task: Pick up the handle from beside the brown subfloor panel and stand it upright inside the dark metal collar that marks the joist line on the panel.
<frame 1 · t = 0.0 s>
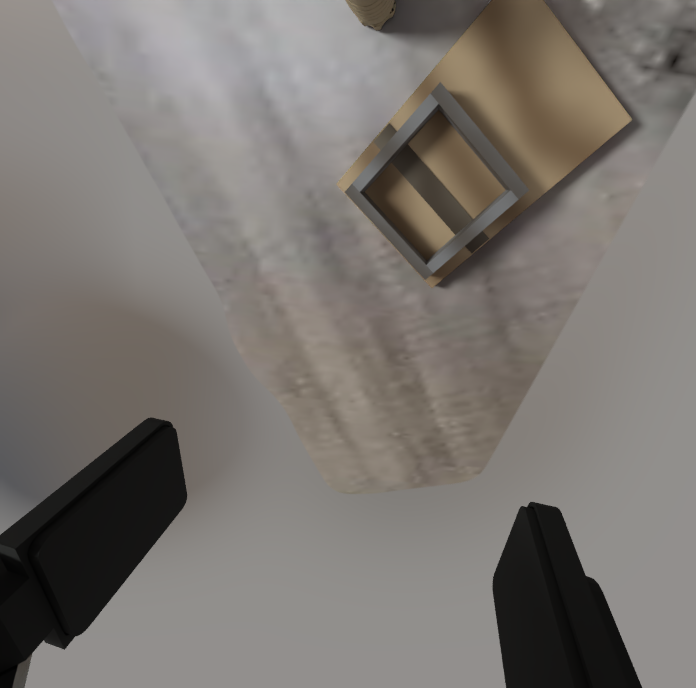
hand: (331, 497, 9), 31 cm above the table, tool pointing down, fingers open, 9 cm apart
handle: (377, 8, 30), on the table
subfloor panel: (466, 156, 32), on the table
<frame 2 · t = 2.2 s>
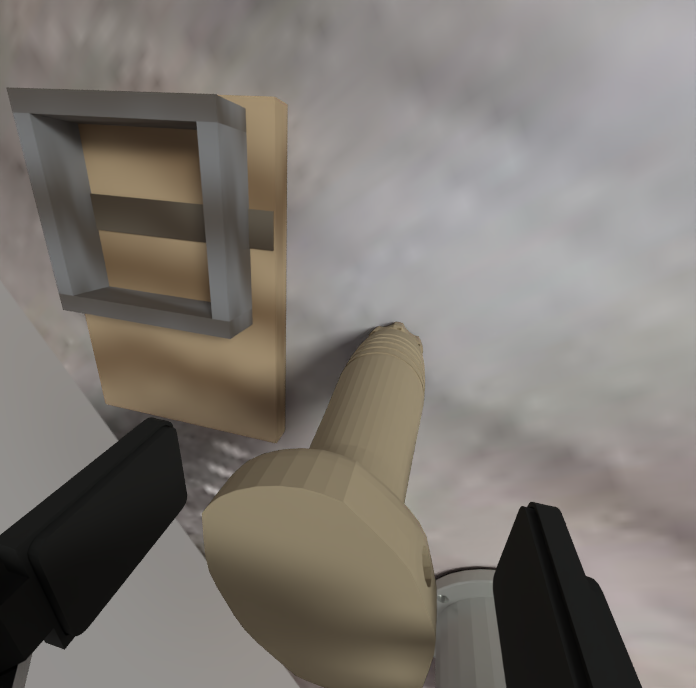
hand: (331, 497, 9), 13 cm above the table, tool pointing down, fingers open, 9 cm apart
handle: (395, 344, 21), on the table
subfloor panel: (185, 282, 23), on the table
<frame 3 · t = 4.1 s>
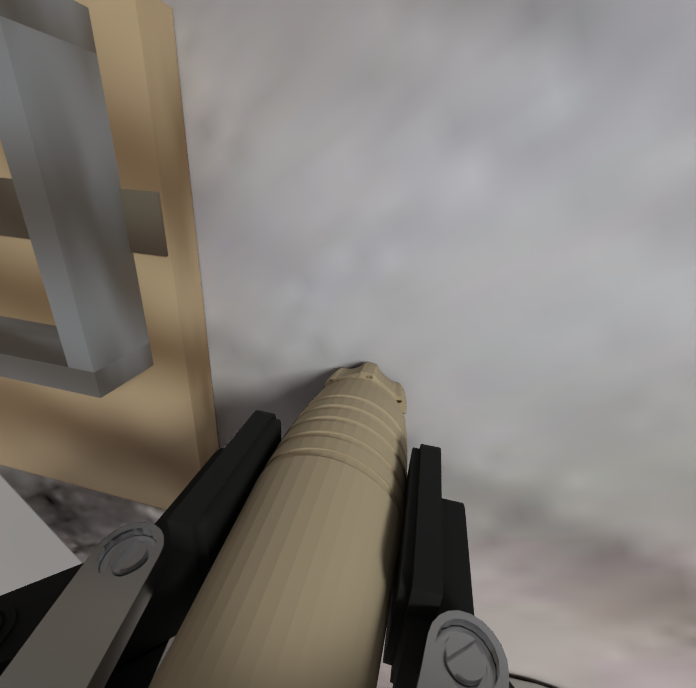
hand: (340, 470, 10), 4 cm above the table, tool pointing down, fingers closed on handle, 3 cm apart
handle: (367, 391, 14), on the table, touching gripper
subfloor panel: (65, 300, 16), on the table
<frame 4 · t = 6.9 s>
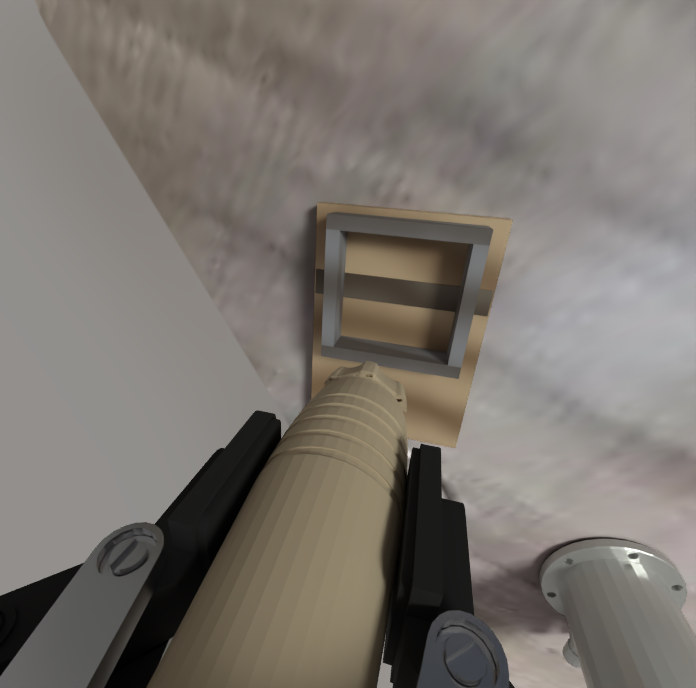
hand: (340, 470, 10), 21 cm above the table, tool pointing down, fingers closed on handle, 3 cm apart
handle: (367, 390, 14), point 17 cm above the table, touching gripper
subfloor panel: (395, 331, 31), on the table
when the fingers open (8 cm above the table, at t = 10.1 s): handle drops 2 cm, resting on subfloor panel.
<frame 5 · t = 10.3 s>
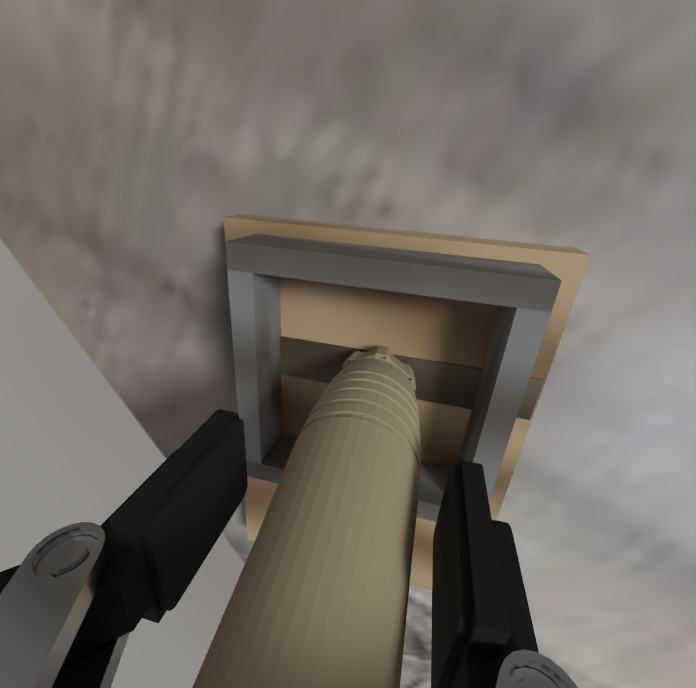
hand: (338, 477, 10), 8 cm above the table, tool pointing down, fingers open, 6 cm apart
handle: (379, 373, 16), point 1 cm above the table, touching subfloor panel
subfloor panel: (371, 423, 19), on the table
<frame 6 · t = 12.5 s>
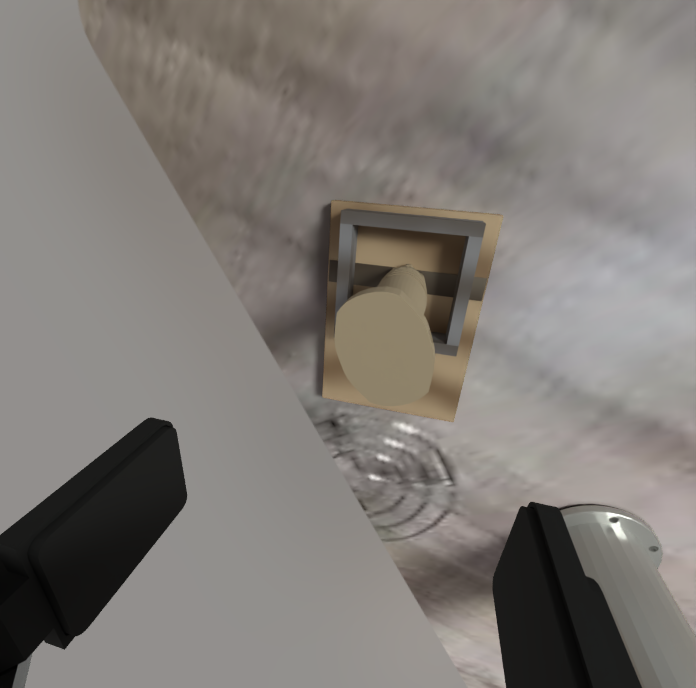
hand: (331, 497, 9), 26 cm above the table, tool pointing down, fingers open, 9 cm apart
handle: (406, 280, 31), point 1 cm above the table, touching subfloor panel
subfloor panel: (399, 316, 34), on the table
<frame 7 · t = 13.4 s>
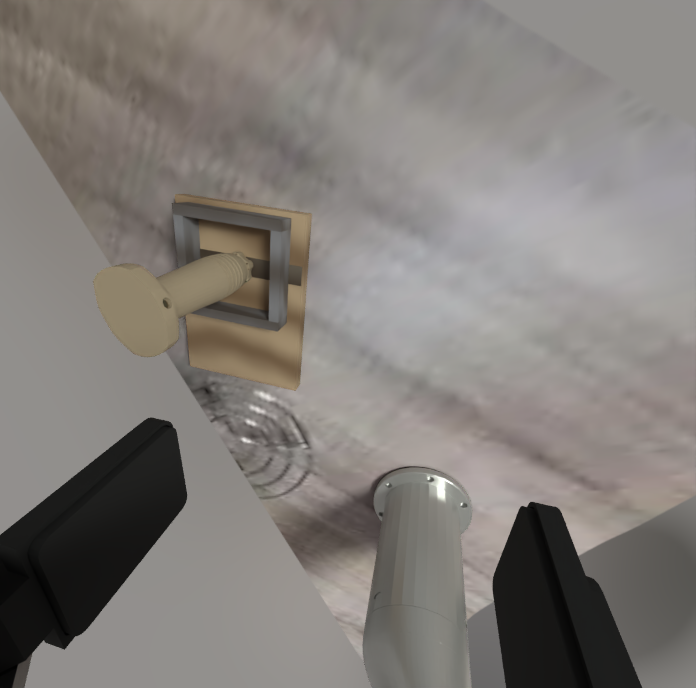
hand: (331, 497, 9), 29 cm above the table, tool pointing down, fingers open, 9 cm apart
handle: (242, 266, 37), point 1 cm above the table, touching subfloor panel
subfloor panel: (246, 297, 40), on the table
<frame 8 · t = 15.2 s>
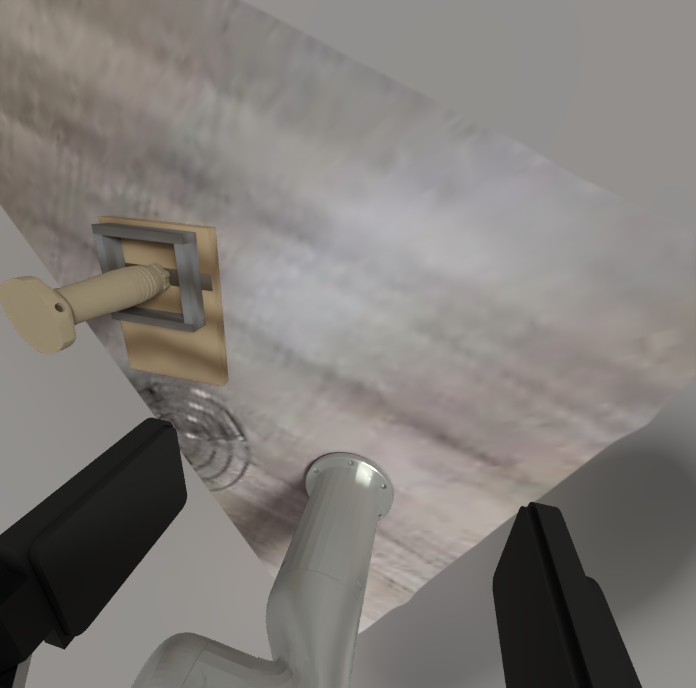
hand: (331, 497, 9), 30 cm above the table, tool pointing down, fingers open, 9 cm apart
handle: (161, 276, 42), point 1 cm above the table, touching subfloor panel
subfloor panel: (172, 303, 45), on the table
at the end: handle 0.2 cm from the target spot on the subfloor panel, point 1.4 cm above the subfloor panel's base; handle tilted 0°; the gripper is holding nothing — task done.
